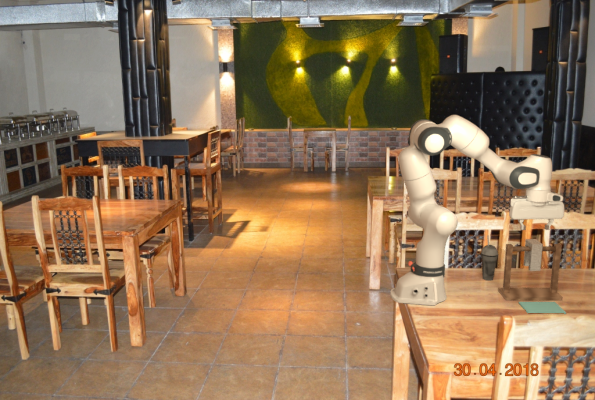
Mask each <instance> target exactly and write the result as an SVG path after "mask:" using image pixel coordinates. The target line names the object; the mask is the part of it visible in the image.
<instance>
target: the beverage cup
mask: <svg viewBox="0 0 595 400" xmlns="http://www.w3.org/2000/svg"><path fill="white" fill-rule="evenodd" d="M480 257H481V272H482V273H481V274H482V277H481V278H482V280H484V281H493V280H494V277H495V273H496V266H497V260H498V257H499V251H498V248H497V247H495V245H492V244H490V240H489V235H488V234H487V244H486V245H484V246H483V247H482V248H481V252H480Z"/></svg>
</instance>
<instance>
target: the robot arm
mask: <svg viewBox="0 0 595 400" xmlns="http://www.w3.org/2000/svg"><path fill="white" fill-rule="evenodd" d="M407 145H408V146H406V147H404V148H403V149H402V150H401V151H400V152H399V154H398V165H399V170H400V173H401V176H402V179H403V183H404V186H405V188H406V191H407V193H408V198H409V199H408V200H409V206H408V209H407V217H408V218H409V220H410V221H412V223H413V224H415V225H416V226H418V227H420V228H421V229H423V234H422V238H421V239H420V240H419V241H418V242H417V243H416V248H415V249H416V250H415V251H416V255H415V262H413V261H412V260H409V261H408V263H407V264H408V266H409V268H410V270H409V271H408V272H406V273H405V274H403V275H402V276H400V277H399V278H398V279H397V282H396V286H395V287H392V288H391V290H390V292H389V294H390V298H391V299H392V300H393V301H394V302H396V303H398V304H411V305H423V306H436V305H438V304H439V303H441V302H444V301H446V300H447V298H448V297H447V294H446V288H445V275H446V265H445V252H446V245H447V242H448V239H449V236H451V235H452V234H453V233H454V232H455V231H456V229H457V228H458V225H459V224H458V223H459V221H458V217H457V216H456V214H455V213H454V212H453V211H452V210H450V209H449V208H446V207H445V206H442V205H440V204H438V203H437V202H436V198H435V192H436V190H437V184H436V180H435V178H434V174H433V172H432V171H433V170H431V167H430V164H429V156H438V155H440V154H441V153H443V152H444V151H445V150H446V149H447V148H449V146H452V147H453V148H454V149H456V150H457V151H459V152H460V153H461V154H463V155H465V156H466V157H468V158H471V159H474V160H477V161H478V162H479V163H481V164H482V165H483V166H484V167H486V169H488V170H489V171H490V172H491V175H492V178H494V180H495V182H497V183H499V184H500V185H503V186H504V185H505V186H507V187H510V188H513V189H514V190H525V195H515V196H513V197H511V198H510V201H509V202H510V203H509V205H510V207H509V215H508V216H509V217H510V218H511V220H517V221H518V223H519V225H520V227H519V229H520V230H521V231H526V228H527V226H526V225H525V224H524V223H523V222H524V220H548V221H547V224H544V229H545V230H546V231H549V230H551V226H552V225H553V223H554V222H555V221H554V220H562V219H563V218H564V217H565V203H564V202H563V201H564V196H563V195H562V194H559V193H556V192H554V191H551V189H552V187H551V182H552V181H551V180H552V178H553V162H552V158H551V157H549V156H547V155H543V154H537V153H534V154H533V153H532V154H530V155H529V156H528V157H527V158H525V159H524V160H522V161H520V162H515V161H513V160H510V159H506V158H502V157H501V156H499V155H498V154H496V153H495V152H494V151H493V150H492V149H491V148H490V147H489V146H490V138H489V136H488V135H487V133H485V132H484V131H483V129H481V128H480V127H478V126H477V125H476V124H475V123H473V122H471V121H470V120H468V119H466V118H464V117H463V116H460V115H458V114H451V115H449V116H447V117H446V118H445V119H444V120H443V121H442V122H441V123H439V124H436V123H435V122H433V121H432V120H431V119H425V118H424V119H423V118H422V119H419V120H416V121H415V122H414V123H413V124H412V125H411V127H410V129H409V135H408V139H407Z"/></svg>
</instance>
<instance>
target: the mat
mask: <svg viewBox="0 0 595 400" xmlns="http://www.w3.org/2000/svg"><path fill="white" fill-rule="evenodd" d="M518 304H519V305H520V307H521V308H522V309H523V310H524V309H525V310H526V311H525V310H524V311H525V312H526V313H527V314H528V313H564V314H563V315H566V314H567V311H565V310H564V309H563V308H562V307H561V306H560V305H559V304H558V303H557V301H518Z"/></svg>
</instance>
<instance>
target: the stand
mask: <svg viewBox="0 0 595 400" xmlns="http://www.w3.org/2000/svg"><path fill="white" fill-rule="evenodd" d="M525 251H530V247H528V246H525V245H524V246H523V245H522V246H518V245H517V246H516V245H515V246H514V245H513V244H511V243H506V244H505V255H504V270H503V281H502V287H497V291H498V293H500V295H501V296H502V297H503V299H504V300H505V301H507V302H509V301H513V302H514V301H518V302H557V301H560V302H562V301H563V296H562V295H561V294H559V292H558V287H559V286H558V284H559V276H560V265H561V258H562V257H561V255H562V244H560V243H554V244H553V246H551V245H549V246H548V245H546V246H545V245H543V246H542V252H553V255H552V267H551V276H550V286H549V287H511V275H512V265H513V264H512V262H513V252H525Z"/></svg>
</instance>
